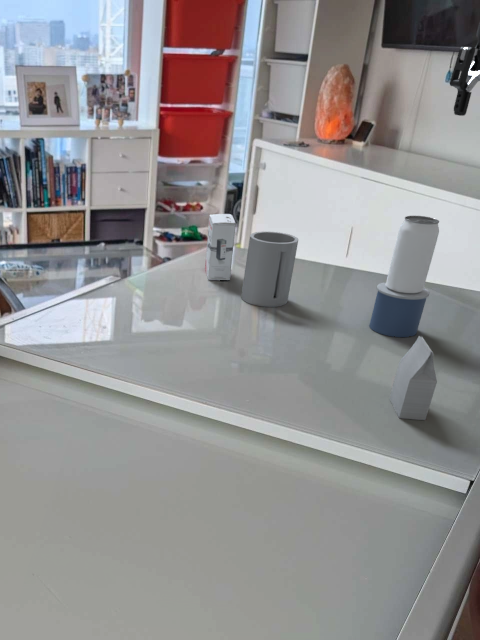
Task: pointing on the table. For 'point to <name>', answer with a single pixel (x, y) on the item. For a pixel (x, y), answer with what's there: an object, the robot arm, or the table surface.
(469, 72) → the robot arm
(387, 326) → the yogurt tub
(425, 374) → the grey milk carton
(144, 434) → the table surface
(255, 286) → the cup
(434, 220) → the can
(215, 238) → the ink box
